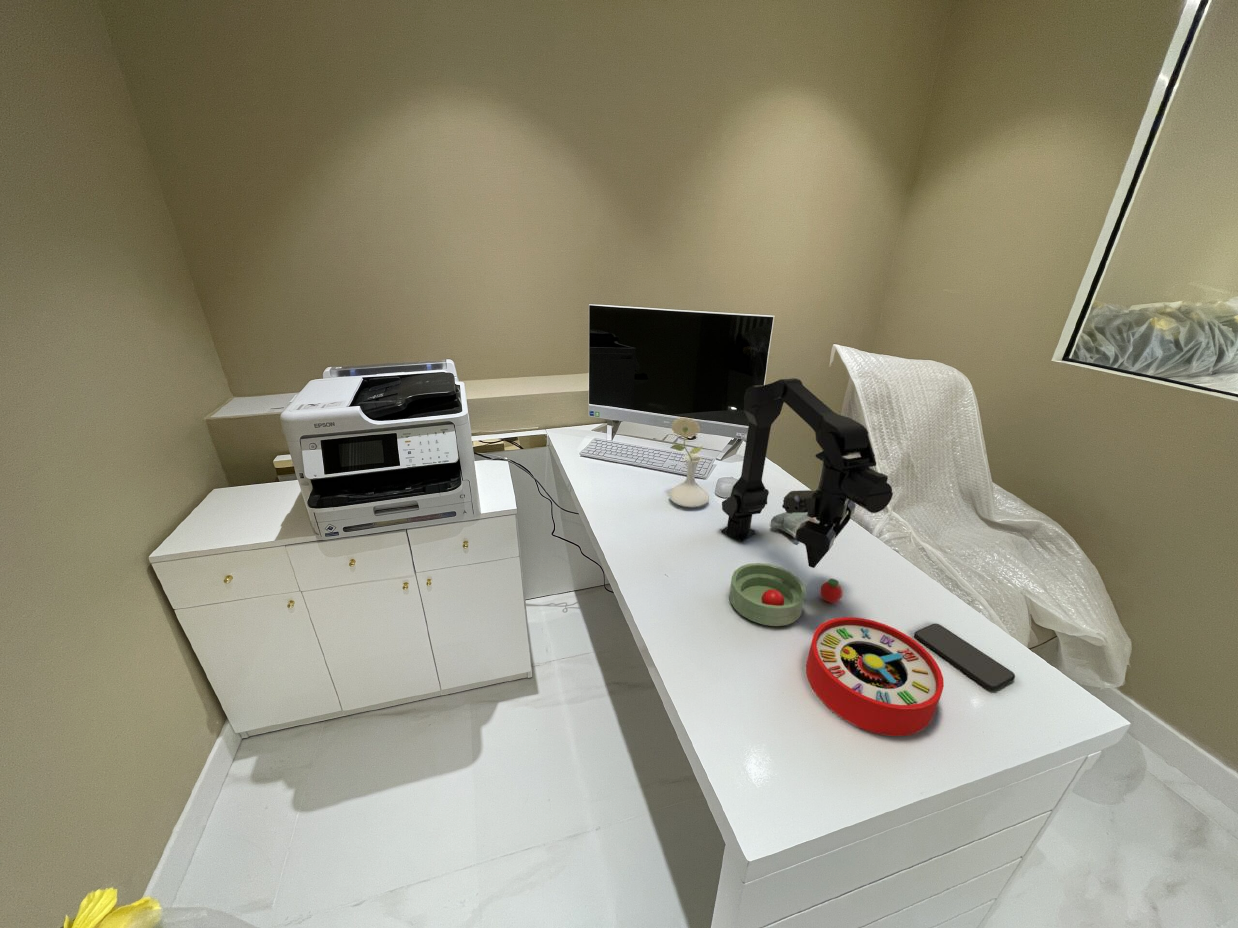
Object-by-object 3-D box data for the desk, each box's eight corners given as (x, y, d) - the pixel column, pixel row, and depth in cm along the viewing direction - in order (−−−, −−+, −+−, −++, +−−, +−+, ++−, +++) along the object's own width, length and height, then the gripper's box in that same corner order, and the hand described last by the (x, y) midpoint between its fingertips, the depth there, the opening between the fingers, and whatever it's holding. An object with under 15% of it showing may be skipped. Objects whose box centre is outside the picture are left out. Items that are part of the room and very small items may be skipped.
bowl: (752, 573, 114) (755, 555, 112) (813, 604, 105) (818, 584, 103) (715, 602, 105) (718, 583, 103) (779, 639, 95) (783, 618, 93)
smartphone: (936, 621, 100) (1018, 674, 87) (935, 625, 100) (1016, 678, 88) (911, 632, 97) (993, 689, 84) (910, 636, 97) (991, 693, 85)
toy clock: (788, 627, 90) (879, 608, 95) (783, 652, 92) (872, 632, 98) (868, 722, 73) (974, 692, 78) (859, 750, 75) (963, 719, 80)
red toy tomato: (817, 591, 109) (821, 573, 107) (838, 595, 108) (843, 577, 106) (819, 604, 105) (823, 586, 103) (841, 608, 104) (846, 589, 102)
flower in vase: (714, 499, 146) (724, 418, 136) (698, 515, 138) (707, 429, 127) (674, 487, 153) (680, 409, 142) (656, 502, 144) (661, 419, 134)
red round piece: (773, 581, 101) (784, 600, 98) (781, 591, 104) (792, 610, 100) (754, 592, 102) (764, 611, 99) (763, 601, 105) (772, 620, 101)
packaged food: (822, 531, 132) (826, 514, 130) (794, 545, 125) (798, 528, 123) (794, 517, 138) (797, 501, 136) (766, 530, 132) (769, 513, 130)
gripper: (807, 461, 107) (795, 524, 113) (774, 492, 93) (762, 562, 99) (863, 475, 100) (847, 542, 107) (836, 511, 87) (819, 584, 93)
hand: (818, 556), depth 102 cm, fingers open, 9 cm apart
